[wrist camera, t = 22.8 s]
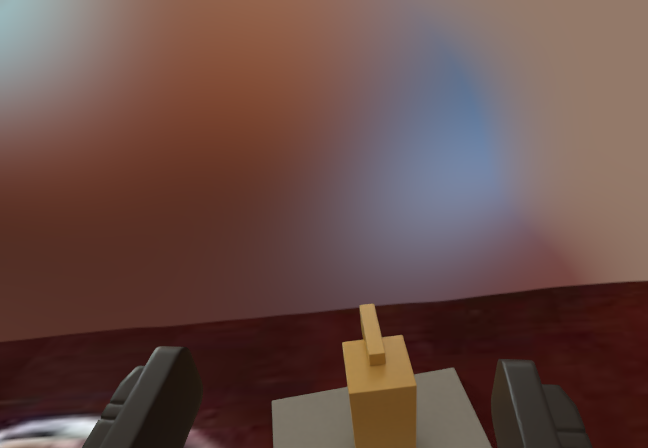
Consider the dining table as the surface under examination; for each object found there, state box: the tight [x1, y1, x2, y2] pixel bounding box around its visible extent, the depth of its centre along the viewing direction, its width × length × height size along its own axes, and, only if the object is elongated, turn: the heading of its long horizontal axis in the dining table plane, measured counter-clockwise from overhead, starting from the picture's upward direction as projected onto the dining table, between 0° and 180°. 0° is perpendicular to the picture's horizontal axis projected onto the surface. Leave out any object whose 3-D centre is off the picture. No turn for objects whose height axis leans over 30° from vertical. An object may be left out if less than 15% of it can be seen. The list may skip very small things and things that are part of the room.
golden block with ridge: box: [342, 304, 417, 448], centre depth 31 cm, size 4×6×11 cm, turn 3°
